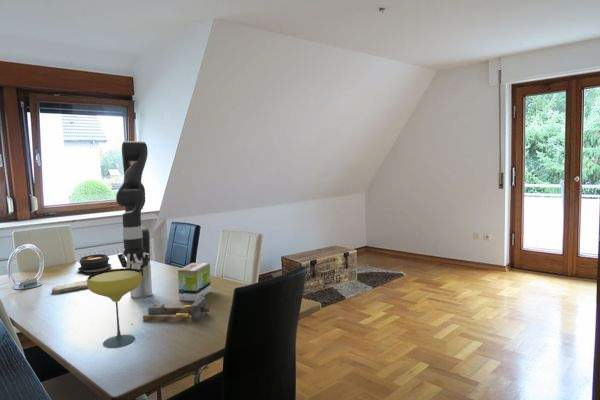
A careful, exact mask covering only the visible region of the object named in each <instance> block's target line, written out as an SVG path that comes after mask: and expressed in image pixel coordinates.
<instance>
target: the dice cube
mask: <svg viewBox="0 0 600 400" xmlns="http://www.w3.org/2000/svg"><path fill="white" fill-rule="evenodd" d="M164 307H165V303H163V302H162V303H152V304H150V306H148V307H147V311H148V314H147V315H166V314H165V309H164Z"/></svg>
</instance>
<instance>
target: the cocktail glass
mask: <svg viewBox="0 0 600 400" xmlns="http://www.w3.org/2000/svg"><path fill="white" fill-rule="evenodd" d="M86 280H87V286H88V289H87V290H89V291H90V292H92V293H94V294H96V295H99V296H102V297H106V298H108V299H110V300H111V301H112V302H113V303H115V311H116V326H117V327H116V329H117V330H116V335H114V336H111V337H109V338H107V339H105V340H104V341H103V342H102V346H104V347H105V348H109V349H114V348H116V349H117V348H123V347H126V346H128V345H131V344H132V343H133V342H134V341H135V340H136V337H135V336H134V335H133V334H121V330H120V329H121V328H120V319H119V316H120V315H119V306H118V305H119V302H120V301H121V299H122V298H123V297H124V296H125V295H126V294H128V293H130V291H132V290H133V289H135V288H136V287H137V286H138V285H139V284H140V283H141V280H142V275H141V272H140V271H139V270H137V269H130V268H123V267H122V268H114V269H106V270H104V271H99V272H94V273H93V274H91V275H89V276H88V277H87V279H86Z"/></svg>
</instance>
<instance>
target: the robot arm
mask: <svg viewBox="0 0 600 400" xmlns="http://www.w3.org/2000/svg"><path fill="white" fill-rule="evenodd" d="M121 158H122V167H123V182H122V185H121V186H120V187H119V188H118V190H117V192H116V197H115V200H116V201H115V202H116V203H117V204H118V205H119V206H120V207H124V210H125V212H124V213H122V240H123V249H124V250H123V252H121V253H119V254H117V258H118V260H119V263H120V265H121V267H122V269H123V268H130V269H137V270H139V271H140V272H141V275H142V280H141V283H140V284H139V285H138V286H137V287H136V288H135V289H133V290H132V291H130V292H129V293H130V297H131V298H135V299H141V298H146V297H147V298H148V297H151V296H152V295H153V283H152V282H153V281H152V265H151V247H150V246H151V244H150V243H151V239H150V237H151V236H150V235H151V234H150V231H149V229H148V228H147V227H142V221H141V220H142V219H141V218H142V217H141V216H142V209H143V208H144V206H145V203H146V189H145V186H144V184H143V183H142V178H143V177H142V176H143V171H144V169H145V167H146V163H147V158H148V145H147V143H146V142H145V141H135V140H132V141H131V140H126V141H125V140H124V141H122V144H121ZM131 162H133V164H131Z"/></svg>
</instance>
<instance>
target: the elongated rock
mask: <svg viewBox="0 0 600 400" xmlns="http://www.w3.org/2000/svg"><path fill="white" fill-rule="evenodd" d="M81 290H89V289H88V286H87V279H85V280H80V281H76V282H72V283H67V284H66V283H65V284H63V285H56V286H54V287H53V288H51V293H52V295H59V294H63V293H69V292H71V293H72V292H78V291H81Z"/></svg>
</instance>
